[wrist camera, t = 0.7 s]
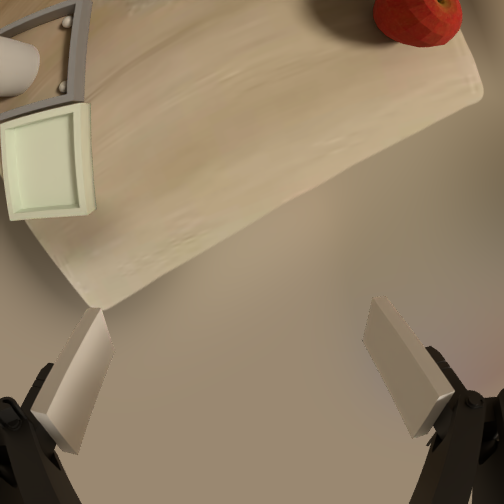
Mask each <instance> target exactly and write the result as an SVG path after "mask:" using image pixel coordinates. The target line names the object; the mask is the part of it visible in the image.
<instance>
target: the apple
mask: <svg viewBox="0 0 504 504" xmlns="http://www.w3.org/2000/svg"><path fill="white" fill-rule="evenodd" d="M373 18H374V20H375V23H376V25H377V27H378V28H379V29H380V30H381V31H382V32H383V33H384V34H385V35H386V36H388V37H389V38H391V39H393V40H394V41H397V42H400V43H403V44H407V45H411V46H416V47H432V46H438V45H445V44H446V43H447V42H448V41H449V40H451V39H452V38H453V37H454V36H455V34H456V33H457V32H458V31H459V29H460V26H461V23H462V10H461V6H460V3H459V1H458V0H375V4H374V7H373Z"/></svg>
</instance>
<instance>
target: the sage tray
mask: <svg viewBox="0 0 504 504" xmlns="http://www.w3.org/2000/svg"><path fill="white" fill-rule="evenodd" d="M0 133H1V154H2V167H3V177H4V185H5V193H6V200H7V206H8V212H9V218H10V221H13V220H26V219H38V218H52V217H66V216H83V215H88V214H90V213H91V212H93V211H94V210H95V209H96V200H95V190H94V179H93V166H92V148H91V104H86V103H77V104H72V105H68V106H63V107H59V108H55V109H51V110H46V111H43V112H39V113H35V114H31V115H28V116H24V117H21V118H18V119H14V120H11V121H8V122H5V123H2V124H0Z"/></svg>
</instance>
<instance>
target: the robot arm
mask: <svg viewBox="0 0 504 504" xmlns="http://www.w3.org/2000/svg"><path fill="white" fill-rule="evenodd" d="M362 341H363V343H364V345H365V347H366V349H367V350H368V352H369V354H370V356H371V358H372V360H373V361H374V364H375V366H376V367H377V369H378V371H379V373H380V375H381V377H382V379H383V381H384V383H385V384H386V387H387V389H388V391H389V392H390V395H391V397H392V398H393V400H394V402H395V404H396V406H397V408H398V411H399V413H400V415H401V417H402V419H403V420H404V422H405V425H406V427H407V429H408V431H409V433H410V435H411V437H412V439H414V438H417V437H420V436H423V435H425V434H427V433H428V432H429V431H430V429H431V428H432V426H434V428H435V430H436V432H435V434H434V435H433V436H432V438H431V439H430V440H429V442H428V443H427V445H426V446H429V445H430V443H431V446H430V449H429V452H428V455H427V458H426V461H425V464H424V467H423V469H422V472H421V475H420V478H419V480H418V483H417V485H416V488H415V490H414V493H413V495H412V497H411V500H410V502H409V504H468V501H469V498H470V494H471V490H472V504H504V389H502V390H501V391H500V393H499V394H498V396H497V397H489V398H483V396H482V395H480V394H479V393H478V392H475V391H471V390H468V391H467V389H466V388H465V387H464V385H463V384H462V382H461V381H460V380H459V378H458V377H457V375H456V374H455V373H454V371H453V370H452V369H451V368H450V366H449V364H448V363H447V362H446V361H445V359H444V358H443V356H442V355H441V354H440V352H438V351H437V350H436V349H434V348H433V347H431V346H429V347H424V346H423V344H422V343H421V342H420V341H419V339H418V338H417V336H416V335H415V334H414V333H413V331H412V330H411V328H410V327H409V326H408V324H407V323H406V322H405V321H404V319H403V318H402V316H401V315H400V314H399V313H398V311H397V310H396V309H395V308H394V306H393V305H392V304H391V302H390V301H389V300H388V299H387V297H386V296H383V297H373V298H372V302H371V307H370V311H369V315H368V319H367V324H366V328H365V332H364V336H363V340H362ZM114 352H115V349H114V346H113V344H112V341H111V338H110V335H109V332H108V329H107V325H106V322H105V319H104V316H103V313H102V309H101V308H87V310H86V311H85V313H84V315H83V316H82V318H81V320H80V321H79V323H78V325H77V326H76V328H75V329H74V331H73V333H72V334H71V336H70V338H69V339H68V341H67V343H66V344H65V346H64V348H63V349H62V351H61V353H60V355H59V356H58V358H57V360H56V362H55V364H53V363H48V364H47V365H46V366H45V367H44V368H42V369H41V371H40V372H39V374H38V376H37V378H36V380H35V381H34V383H33V385H32V386H33V387H31V389H30V390H29V393H28V394H27V396H26V398H25V400H24V402H23V404H22V406H21V408H20V407H19V405H18V404H17V402H16V401H15V400H14V399H13V398H11V397H3V398H1V399H0V504H82V503H81V502H80V500H79V498H78V496H77V494H76V493H75V491H74V489H73V487H72V485H71V483H70V481H69V479H68V477H67V475H66V473H65V471H64V469H63V466H62V464H61V462H60V460H59V457H58V455H57V453H56V452H55V450H54V449H55V446H56V444H57V445H58V446H59V448H60V449H61V450H62V451H64V452H68V453H72V454H76V455H78V453H79V450H80V447H81V444H82V440H83V437H84V434H85V431H86V428H87V425H88V422H89V419H90V416H91V413H92V410H93V408H94V405H95V402H96V399H97V396H98V393H99V391H100V388H101V386H102V383H103V380H104V378H105V375H106V373H107V370H108V367H109V365H110V362H111V360H112V357H113V355H114ZM472 487H473V488H472Z"/></svg>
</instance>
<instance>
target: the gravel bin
mask: <svg viewBox="0 0 504 504" xmlns="http://www.w3.org/2000/svg"><path fill="white" fill-rule="evenodd" d="M92 3H93V2H92V1H91V0H67V1H64V2H61V3H58V4H56V5H53V6H50V7H48V8H45V9H43V10H40V11H38V12H35V13H33V14H31V15H28V16H26V17H24V18H22V19H19V20H17V21H15V22H13V23H11V24H9V25H7V26H5V27H3V28H1V29H0V36H2V37H6V38H10V37H13V36H15V35H17V34H19V33H21V32H24V31H26V30H28V29H31V28H33V27H36V26H38V25H41V24H43V23H46V22H49V21H52V20H54V19H57V18H60V17H63V16H66V15H69V14H73V13H74V17H72V16H67V17H65V18H64V19H63V21H62V25H63V27H65V28H69V27H71V26H72V33H71V41H70V51H69V63H68V79H67V81H63V82H62V83H60V85H59V90H60V92H62V93H65V92H67V94H65V95H61V96H57V97H53V98H49V99H45V100H42V101H38V102H35V103H31V104H28V105H25V106H22V107H18V108H15V109H12V110H9V111H6V112H4V113H1V114H0V123H3V122H6V121H9V120H12V119H16V118H19V117H22V116H26V115H29V114H33V113H36V112H40V111H44V110H48V109H52V108H56V107H60V106H65V105H69V104H74V103H79V102H84V84H85V65H86V51H87V41H88V31H89V23H90V16H91V9H92Z"/></svg>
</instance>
